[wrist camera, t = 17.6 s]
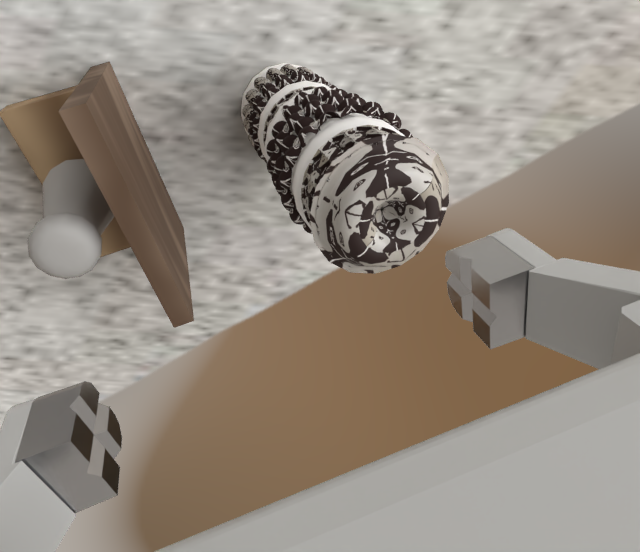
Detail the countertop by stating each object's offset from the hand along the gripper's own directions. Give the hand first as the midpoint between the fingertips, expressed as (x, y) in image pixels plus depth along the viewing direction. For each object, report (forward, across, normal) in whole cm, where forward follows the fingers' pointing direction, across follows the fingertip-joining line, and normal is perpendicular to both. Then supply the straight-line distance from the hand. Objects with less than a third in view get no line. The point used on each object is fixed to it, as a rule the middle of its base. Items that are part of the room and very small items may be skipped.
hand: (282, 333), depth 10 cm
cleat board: (+37, +10, +6) cm, 39 cm away
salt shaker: (+35, +12, +6) cm, 37 cm away
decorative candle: (+37, -7, +6) cm, 38 cm away
